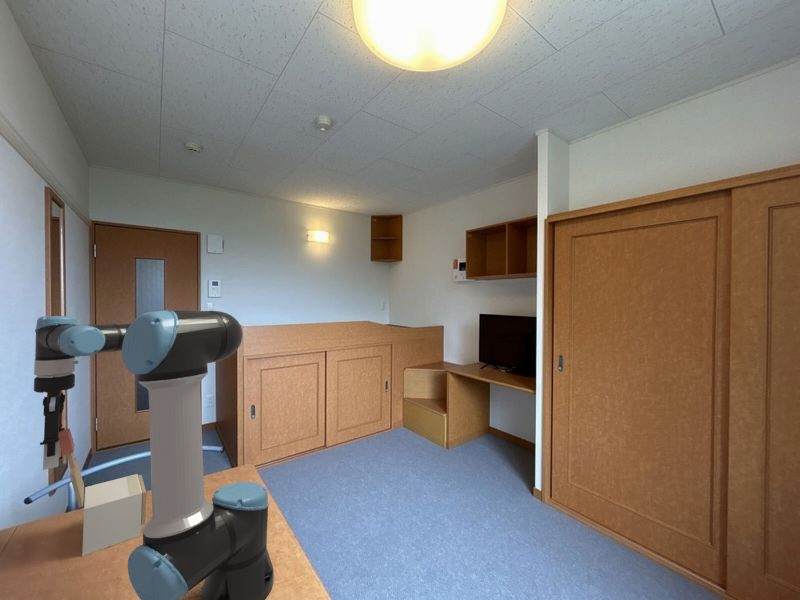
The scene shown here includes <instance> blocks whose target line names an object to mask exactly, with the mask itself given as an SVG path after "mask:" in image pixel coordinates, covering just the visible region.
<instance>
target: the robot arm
mask: <svg viewBox="0 0 800 600" xmlns="http://www.w3.org/2000/svg"><path fill="white" fill-rule="evenodd" d="M34 332H35V348H34V349H35V353H34V365H33V366H34V369H33V374H34V375H35V378H34V379H33V380H34V381H33V391H34V392H35V393H40V394H43V393H46V394H47V396H44V398H43V399H42V406H43V412H42V413H43V416H44V429H43V430H44V431H43V440H42V442H40V443H39V445H40V446H43V458H42V459H43V461H42V471H45V470H49V469H54V468H58V467H59V463H60V462H59V461H60V460H59V458H61V453H62V451H61V448H60V444H59V432H60V431H63V430H66V428H65V427H63V424H62V422H63V421H62V417H63V415H62V414H63V412H64V408H65V401H66V394H64V392H62V391H67V390H71V389H73V388H74V387H75V385H76V384H75V383H76V380H75V379H76V374H75V373H74V372H75V371H76V365H78V364H79V363H80V362H79V361H78V360H77V359H76V357H90V356H92V355H94V354H101V353H112V352H121V357H122V361H123V363H124V367H125V369H126V370H127V372H129V373H130V374H132V375H136V376H138V377H137V378H138V380H137V381H138V384H139V385H141V386H142V387H144V388H145V389H147V391H148V411H149V413H148V414H149V415H148V416H149V417H148V418H149V444H150V445H149V447H150V476H151V477H150V478H151V479H150V480H151V482H150V484H151V509H152V510H151V511H152V513H151V514H152V516H151V517H150V519H149V520H148V521H147V522H145V524H144V526H143V527H142V544H141V545H138V546H137V547H135V549H133V550H132V552H130V554H129V557H128V559H127V572H128V573H127V574H128V579H129V581H130V584H131V587H132V589H133V590H134V592H135V593H136V595H137V596H138V598H139V599H140V600H180V599H181V598H184V597H185V596H187V595H188V593H189V592H190V591H191V590H192V589H194V588H196V586H197V585H199V584H200V583H202V582H203V584H202V587H201V591H200V592H201V593H200V600H266V598H267V597H268V595H270V593H271V591H272V588H273V586H274V581H275V580H274V578H275V577H274V576H275V575H274V574H275V572H274V566H273V563H272V560H271V557H270V554H269V551H268V548H267V545H268V543H267V542H268V541H267V540H268V522H269V521H268V518H269V517H268V515H269V506H270V505H269V501H268V499H269V498H268V495H269V494H268V490H267V489H266V488H265V486H263V485H262V484H260V483H258V482H253V481H252V482H251V481H239V482H232V483H228V484H225V485H223V486H221V487H219V488H218V489H217V490H215V492H214V493H213V496H212V499H211V501H212V503H211V502H210V501H207V500H206V499H205V479H204V478H205V477H204V458H203V457H204V455H203V454H204V453H203V432H202V430H203V427H202V405H201V382H202V381H203V379H204V378H205V377H206V376H207V375H208V372H209V370H208V367H209V365H208V364H211V363H215V362H219V361H223V360H226V359H228V358H229V357H230V356H232V355H234V353H236V352H237V351H238V349H239V348H240V346H241V344H242V341H243V337H244V336H243V328H242V326H241V324H240V322H239V321H238V319H236V318H235V316H232V315H230V314H229V313H227V312H224V311H219V310H173V309H172V310H170V309H169V310H167V309H165V310H159V311H147V312H145V313H142V314H140V315H138V316H136V318H135V319H134V320H132V321H131V322H130V323H110V324H109V323H108V324H104V323H103V324H78V319H77V318H76V317H75V316H73V315H72V316H70V315H52V316H50V315H48V316H47V315H46V316H45V315H44V316H40V317H38V318H37V320H36V326H35V329H34Z"/></svg>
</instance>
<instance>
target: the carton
mask: <svg viewBox="0 0 800 600" xmlns="http://www.w3.org/2000/svg"><path fill="white" fill-rule="evenodd" d="M146 506H147V490H146V486H145V483H144V479H143V476H142V474H139V475H138V473H135V474H132V475H127V476H124V477H120V478H116V479H113V480H108V481H104V482H100V483H96V484H91V485H89V486H84V500H83V527H82V528H83V529H82V531H83V532H82V557H85V556H87V555H89V554H93V553H95V552H98V551H101V550H103V549H107V548H111V547H112V546H114V545H118V544H122V543H125V542H126V541H129V540H132V539H135V538H138V537H141V535H142V526H143V525H144V526H145V524H146V514H147V513H146V511H147V507H146Z"/></svg>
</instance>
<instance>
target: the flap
mask: <svg viewBox="0 0 800 600" xmlns="http://www.w3.org/2000/svg"><path fill="white" fill-rule="evenodd" d="M59 444H60V448H61V453H62V457H65V456H66V457H67V458H66V459H67V461H68V464H69V465H68V466H69V468H70V473H69V474H70V475H69V477H70V481H71V485H72V489H73V493H74V495H75V499H76V502H77V505H78V508H79V509H80V508H83V507H84V501H85V484H84V480H83V477H82V473H81V469H80V465H79V463H78V458H77V456H74V452H75V451H74V450H75V443H74V438H73V436H72V431H71V428H68V429H67V428H65V430H63V431H60V432H59Z"/></svg>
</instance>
